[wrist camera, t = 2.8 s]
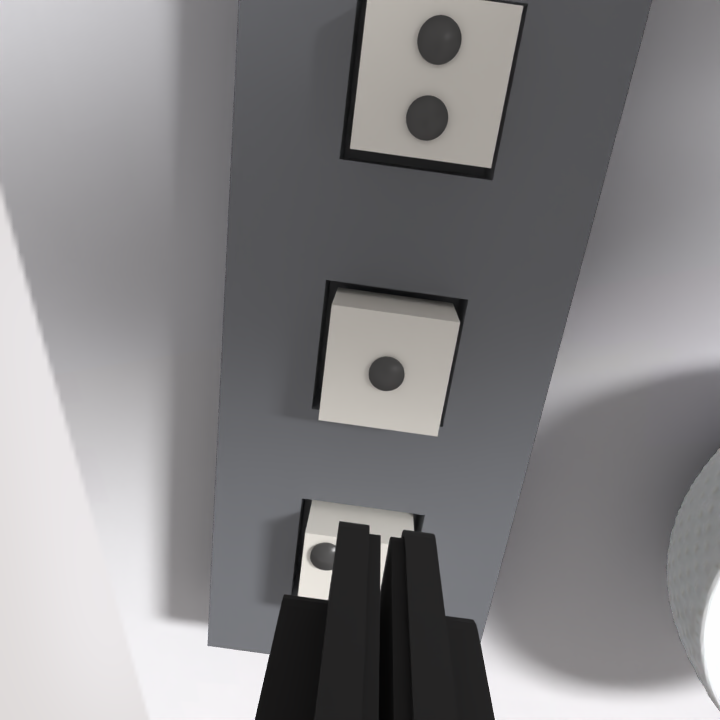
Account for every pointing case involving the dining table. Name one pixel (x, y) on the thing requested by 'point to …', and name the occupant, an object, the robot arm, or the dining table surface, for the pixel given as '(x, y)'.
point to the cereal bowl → (698, 576)
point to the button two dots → (434, 78)
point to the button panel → (397, 291)
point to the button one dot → (388, 361)
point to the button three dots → (324, 539)
